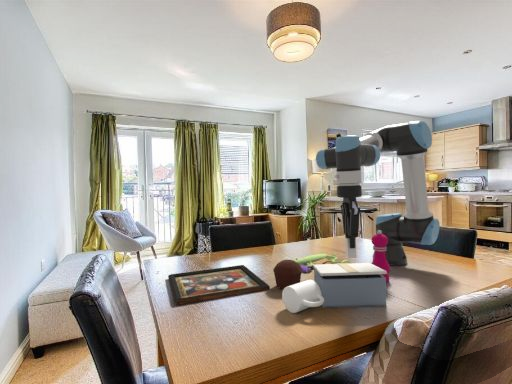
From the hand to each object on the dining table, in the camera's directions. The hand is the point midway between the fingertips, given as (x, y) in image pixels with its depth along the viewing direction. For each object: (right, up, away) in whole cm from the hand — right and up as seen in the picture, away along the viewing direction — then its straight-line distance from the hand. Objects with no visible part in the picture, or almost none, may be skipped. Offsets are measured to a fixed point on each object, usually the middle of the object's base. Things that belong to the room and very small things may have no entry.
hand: (351, 257), depth 94 cm
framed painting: (-47, -17, +24) cm, 56 cm away
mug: (-15, -16, -3) cm, 22 cm away
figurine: (-1, -15, +43) cm, 46 cm away
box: (0, -15, +5) cm, 16 cm away
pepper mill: (+19, -14, +21) cm, 32 cm away
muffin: (-18, -16, +18) cm, 30 cm away
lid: (0, -5, +4) cm, 7 cm away
